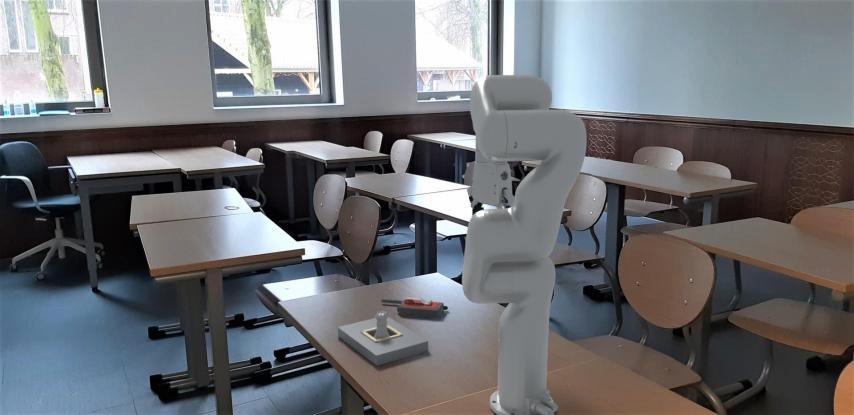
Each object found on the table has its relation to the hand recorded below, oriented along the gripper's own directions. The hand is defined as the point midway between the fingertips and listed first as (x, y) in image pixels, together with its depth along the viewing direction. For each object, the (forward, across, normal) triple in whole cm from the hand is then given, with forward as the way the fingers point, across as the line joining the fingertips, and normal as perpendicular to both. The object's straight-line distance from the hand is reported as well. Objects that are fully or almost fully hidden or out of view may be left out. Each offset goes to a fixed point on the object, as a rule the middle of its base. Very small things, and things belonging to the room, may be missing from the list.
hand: (490, 227), depth 154 cm
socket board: (+28, +12, +24) cm, 39 cm away
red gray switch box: (+29, +27, +6) cm, 40 cm away
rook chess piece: (+28, +12, +24) cm, 39 cm away
